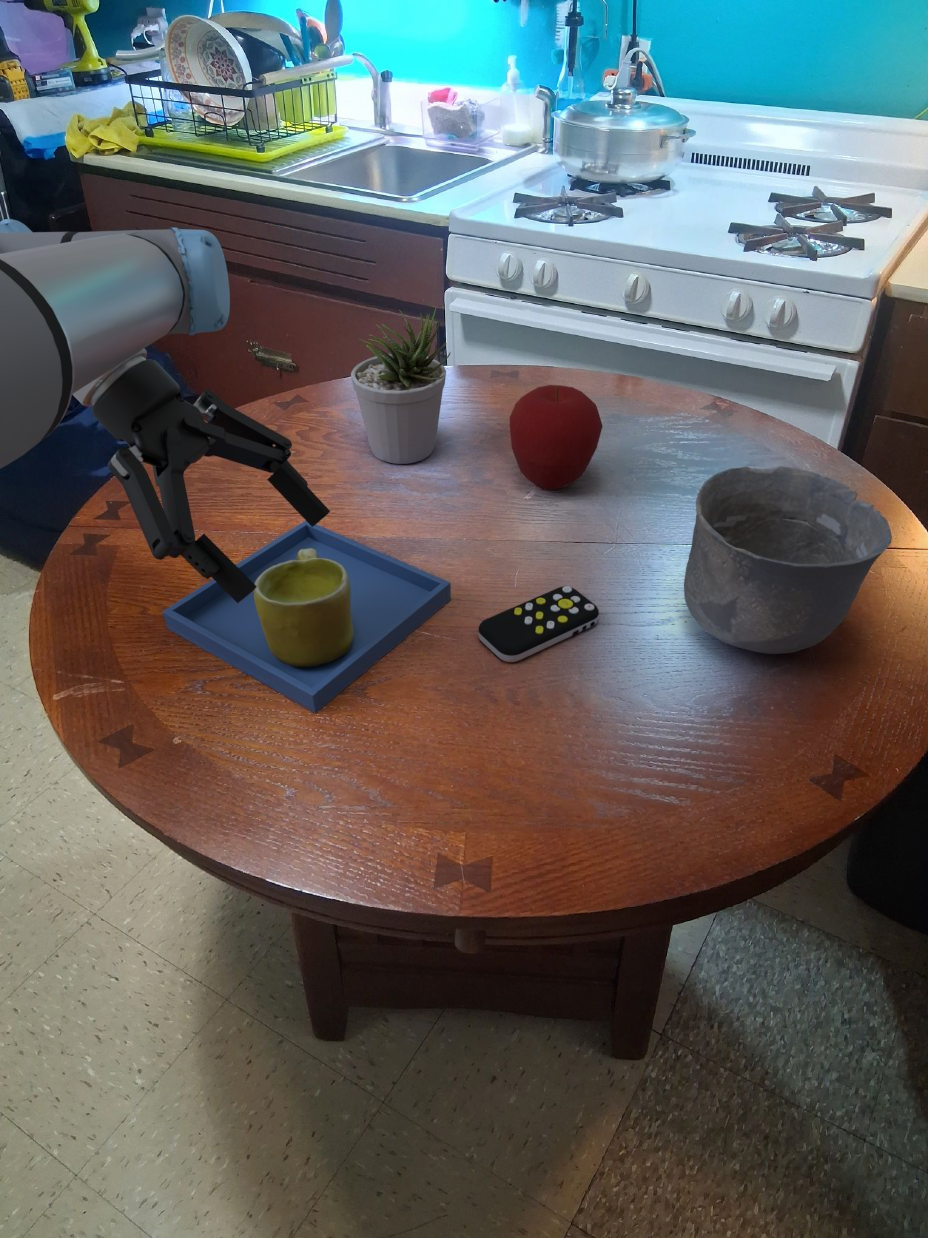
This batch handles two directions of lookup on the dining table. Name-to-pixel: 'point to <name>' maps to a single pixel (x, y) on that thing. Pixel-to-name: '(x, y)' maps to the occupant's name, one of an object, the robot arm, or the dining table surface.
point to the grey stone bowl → (778, 557)
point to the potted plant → (401, 395)
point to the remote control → (538, 623)
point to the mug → (305, 610)
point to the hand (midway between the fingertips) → (286, 555)
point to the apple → (554, 435)
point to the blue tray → (380, 613)
